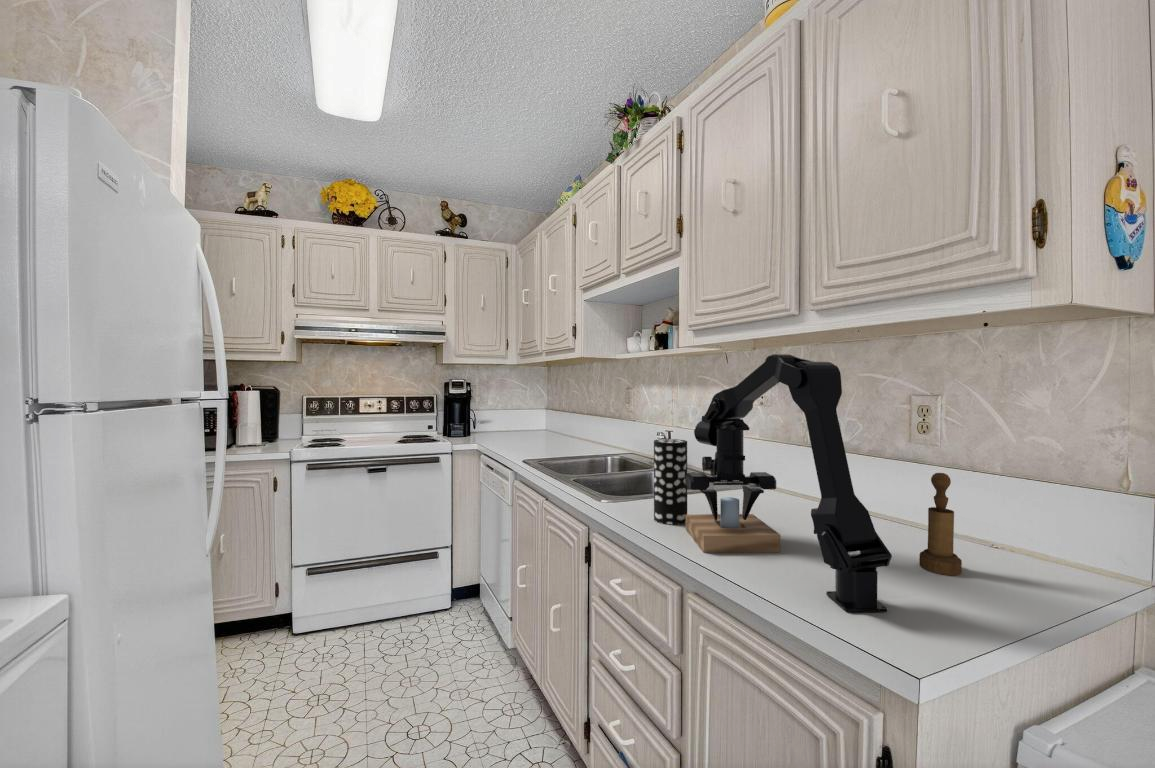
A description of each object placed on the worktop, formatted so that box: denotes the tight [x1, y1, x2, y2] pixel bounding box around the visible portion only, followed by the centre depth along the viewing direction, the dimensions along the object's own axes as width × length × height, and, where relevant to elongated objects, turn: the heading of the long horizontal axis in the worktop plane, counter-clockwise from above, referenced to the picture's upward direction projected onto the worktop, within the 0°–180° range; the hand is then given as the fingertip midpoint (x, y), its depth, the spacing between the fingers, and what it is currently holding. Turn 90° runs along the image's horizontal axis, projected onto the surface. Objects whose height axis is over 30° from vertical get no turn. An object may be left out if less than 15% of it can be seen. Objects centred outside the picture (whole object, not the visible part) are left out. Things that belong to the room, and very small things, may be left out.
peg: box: [720, 497, 740, 528], centre depth 113 cm, size 4×4×9 cm
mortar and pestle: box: [918, 472, 963, 576], centre depth 96 cm, size 7×6×18 cm
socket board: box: [685, 513, 782, 554], centre depth 113 cm, size 16×16×4 cm
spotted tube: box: [653, 438, 688, 526], centre depth 129 cm, size 8×8×20 cm
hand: (729, 519), depth 113 cm, fingers open, 6 cm apart
